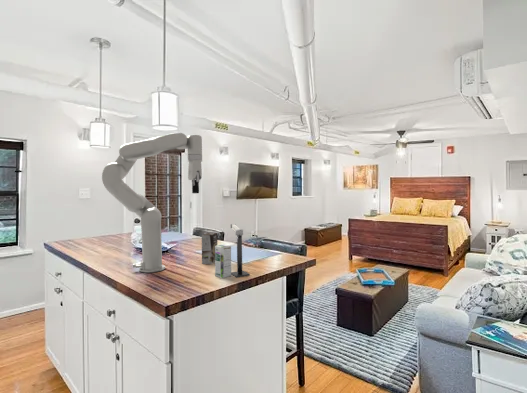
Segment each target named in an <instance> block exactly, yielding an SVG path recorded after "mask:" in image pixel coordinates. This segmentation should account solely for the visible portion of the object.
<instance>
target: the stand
mask: <svg viewBox="0 0 527 393" xmlns="http://www.w3.org/2000/svg"><path fill="white" fill-rule="evenodd" d="M236 267H237V269H236V271H231V276H233V277H234V278H243V277H248V276H250V273H249V272H247V271H245V270H243V235H236Z"/></svg>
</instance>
